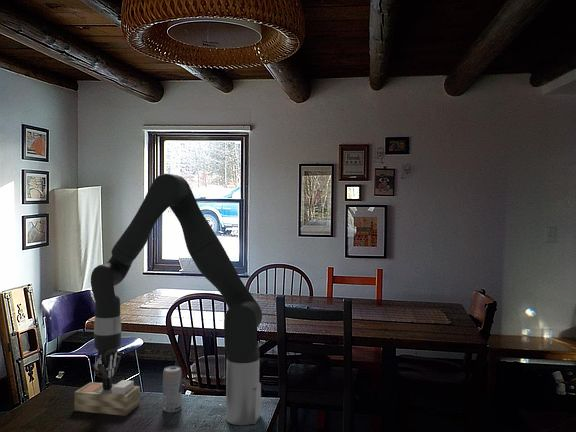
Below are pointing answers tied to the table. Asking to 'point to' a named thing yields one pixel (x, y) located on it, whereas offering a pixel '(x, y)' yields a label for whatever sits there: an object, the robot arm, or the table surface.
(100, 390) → the slate key
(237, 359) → the robot arm
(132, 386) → the ivory key
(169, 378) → the energy drink
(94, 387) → the rust key
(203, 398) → the table surface
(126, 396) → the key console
